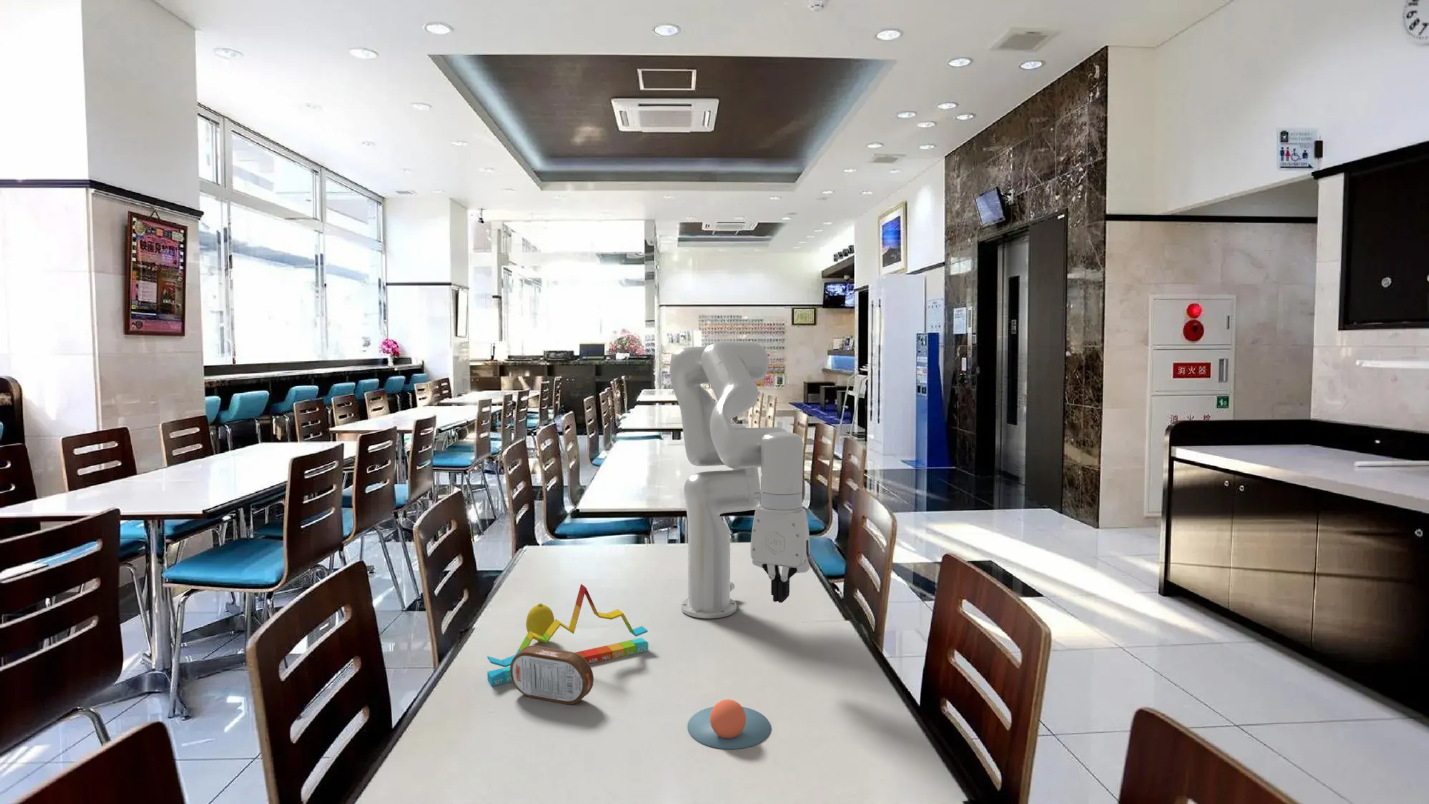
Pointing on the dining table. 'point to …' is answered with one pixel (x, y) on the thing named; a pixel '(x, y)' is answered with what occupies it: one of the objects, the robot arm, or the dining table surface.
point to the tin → (551, 674)
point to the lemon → (539, 620)
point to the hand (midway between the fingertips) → (780, 599)
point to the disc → (751, 735)
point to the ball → (728, 719)
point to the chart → (589, 655)
